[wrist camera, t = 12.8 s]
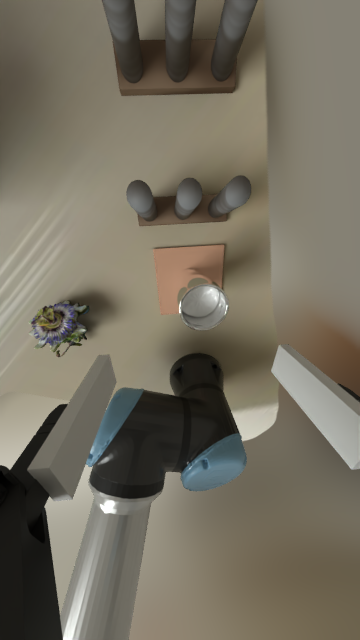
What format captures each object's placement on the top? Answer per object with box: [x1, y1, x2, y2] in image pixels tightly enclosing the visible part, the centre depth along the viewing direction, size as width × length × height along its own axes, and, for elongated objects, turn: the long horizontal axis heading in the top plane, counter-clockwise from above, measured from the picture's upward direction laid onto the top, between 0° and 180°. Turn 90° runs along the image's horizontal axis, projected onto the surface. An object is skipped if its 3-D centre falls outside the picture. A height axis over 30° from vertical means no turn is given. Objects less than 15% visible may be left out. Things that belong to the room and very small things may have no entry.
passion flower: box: [29, 300, 89, 357], centre depth 33 cm, size 11×11×12 cm
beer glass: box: [176, 269, 229, 331], centre depth 27 cm, size 7×7×15 cm
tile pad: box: [153, 245, 224, 315], centre depth 34 cm, size 14×14×1 cm
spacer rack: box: [102, 0, 257, 226], centre depth 20 cm, size 20×16×11 cm
